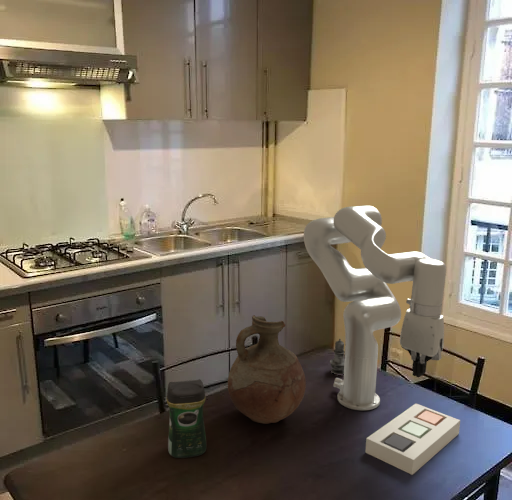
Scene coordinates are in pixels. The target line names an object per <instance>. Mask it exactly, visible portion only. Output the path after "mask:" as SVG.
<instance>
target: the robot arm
mask: <svg viewBox="0 0 512 500" xmlns="http://www.w3.org/2000/svg"><path fill="white" fill-rule="evenodd" d="M382 223H383V218H382V214H381V212H380V211H379V210H378V209H377V208H376V207H374V206H373V205H355V206H353V205H352V206H346V207H342V208H341V209H338V210H337V211H336V213H334V216H331V217H321V218H316V219H313V220H311V221H309V222H308V223H306V225H305V226H304V230H303V243H304V245H305V249H306V251H307V254H308V255H309V257H310V258H311V259H312V261H313V262H314V263H315V264H316V266H317V267H318V268H319V270H320V272H321V273H322V274H323V277H324V278H325V280H326V282H327V284H328V285H329V288H330V289H331V291H332V292H333V294H334V296H335V297H336V299H337V300H339V301H340V302H343V303H344V302H345V303H348V302H349V303H348V304H347V305H346V306H345V307H344V310H343V316H342V317H343V324H344V325H343V326H344V332H345V335H344V336H345V342H344V351H345V353H344V360H345V363H344V375H343V379H342V378H339V377H335V378H334V382H333V385H332V386H333V387H334V388H337V389H339V391H338V393H337V401H338V403H339V404H340V405H342V406H344V407H345V408H348V409H351V410H354V411H370V410H373V409H374V410H375V409H376V408H378V407H379V406H380V405H381V398H380V396H379V395H378V394H377V393H376V388H377V387H376V386H377V374H378V373H377V372H378V359H379V358H378V356H379V354H378V353H379V345H378V341H377V339H376V337H375V336H374V332H375V331H378V330H383V329H387V328H392V327H394V326H396V325H397V324H398V323H400V321H401V319H402V309H401V306H400V303H399V302H398V300H397V298H396V297H395V295H394V294H393V291H391V288H390V286H389V285H390V284H391V285H393V284H400V283H404V282H412V288H411V296H410V298H406V304H407V305H409V308H408V309H407V310H406V312H405V315H404V317H403V320H402V324H401V329H400V336H399V344H400V346H401V348H402V349H404V350H405V351H406V352H407V353H408V354H409V356H410V358H411V361H412V367H411V368H412V376H414V377H417V378H420V377H421V376H424V375H425V373H426V370H427V363H428V362H429V361H430V360H431V361H440V360H441V359H442V358H443V356H442V352H443V349H444V342H445V341H444V340H445V322H444V315H442V310H443V299H444V291H445V283H446V273H447V266H446V264H445V262H443V261H442V260H439V259H435V258H431V257H429V256H427V255H426V254H424V253H422V252H420V251H414V250H413V251H407V252H398V253H397V252H396V253H390V254H389V253H387V252H385V251H384V250H382V249H381V248H382V247H383V245H384V244H385V241H386V239H387V238H386V237H387V233H386V231H385V229H384V227H382ZM348 243H352V244H353V245H355V246H356V247H357V248H358V249H359V250H360V258H361V261H362V263H363V265H364V267H359V268H358V267H357V268H354V267H353V266H352V265H351V264H350V263H349V261H348V260H347V258H346V256H344V254H343V253H342V252H340V250H338V249H336V248H335V247H333V246H332V245H340V244H348ZM388 284H389V285H388Z"/></svg>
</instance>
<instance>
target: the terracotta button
mask: <svg viewBox="0 0 512 500" xmlns="http://www.w3.org/2000/svg"><path fill="white" fill-rule="evenodd" d="M417 419H419V420H422V421H424V422H427V423H429V424H432V425H434V426H437V425H438V424H439V423H441V422H442V421H443V417H442V416H439V415H436V414H434V413H431V412H429V411H425V412H423V413H422V414H421V415H419V416H418V417H417Z"/></svg>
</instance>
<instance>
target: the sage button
mask: <svg viewBox="0 0 512 500" xmlns="http://www.w3.org/2000/svg"><path fill="white" fill-rule="evenodd" d="M401 431H403V432H406V433H408V434H410V435H413V436H415V437H417V438H420V439H421V438H422V437H423V436H424V435H426V434H427V433H428V429H427V428H425V427H423V426H420V425H418V424H415V423H413V422H410V423H409V424H407V425H406V426H404V427H403V428H402V429H401Z"/></svg>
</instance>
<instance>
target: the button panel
mask: <svg viewBox="0 0 512 500" xmlns="http://www.w3.org/2000/svg"><path fill="white" fill-rule="evenodd" d="M425 411H429V412H431V413H434V414H436V415H439V416H442V417H443V421H442V422H441V423H439V424H438V425H437V426H434V425H432V424H429V423H427V422H424V421H422V420H419V419H417V417H418V416H419V415H421V414H422V413H423V412H425ZM410 422H413V423H415V424H418V425H420V426H423V427H425V428H427V429H428V433H427V434H426V435H424V436H423V437H422V438H421V439H420V438H417V437H415V436H413V435H410V434H408V433H406V432H403V431H401V429H402V428H403V427H404V426H406V425H407V424H409V423H410ZM460 425H461V419H458V418H455V417H453V416H451V415H447V414H444V413H442V412H440V411H437V410H434V409H432V408H429V407H427V406H424V405H421V404H419V403H414V404H413V405H411V406H410V407H408V408H407V409H406V410H405V411H403V412H402V413H400V414H399V415H397V416H396V417H395V418H393V419H392V420H390V421H389V422H388V423H386V424H384V425H383V426H381V427H380V428H379V429H378V430H376V431H374V432H373V433H372V434H370V435H369V436H367V437H366V438H365V439H366V440H365V441H366V442H365V453H366V454H367V455H370V456H372V457H373V458H377V459H378V460H381V462H382V461H383V462H385V463H386V464H388V465H391V466H393V467H395V468H397V469H399V470H401V471H403V472H405V473H406V474H410V475H411V476H413V475H414V474H416V473H417V472H418V471H419V469H421V468H423V466H424V465H425V464H427V462H429V461H430V460H431V459H432V458H433V457H434V456H435V455H436V454H438V453H439V452H440V451H442V449H443V448H445V447H446V446H447V445H448V444H449V443H451V441H453V440H454V439H455V438H456V437H457V436H458V435H459V434H460V429H461V427H460ZM394 434H396V435H398V436H400V437H403V438H405V439H407V440H409V441H412V446H411V447H410V448H408V449H407V450H406V451H405V452H401V451H399V450H397V449H395V448H392V447H390V446H388V445H386V444H384V441H386V440H387V439H388V438H390V437H391V436H392V435H394Z"/></svg>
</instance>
